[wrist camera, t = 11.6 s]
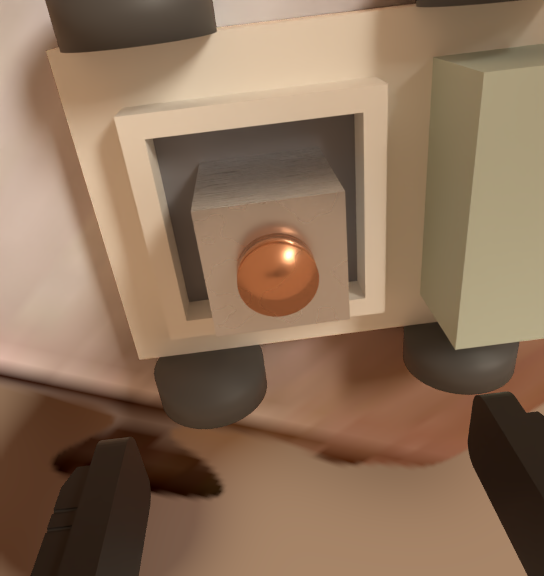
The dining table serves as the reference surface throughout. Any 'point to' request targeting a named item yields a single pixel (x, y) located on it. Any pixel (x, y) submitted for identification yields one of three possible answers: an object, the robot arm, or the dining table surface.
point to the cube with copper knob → (272, 241)
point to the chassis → (343, 160)
